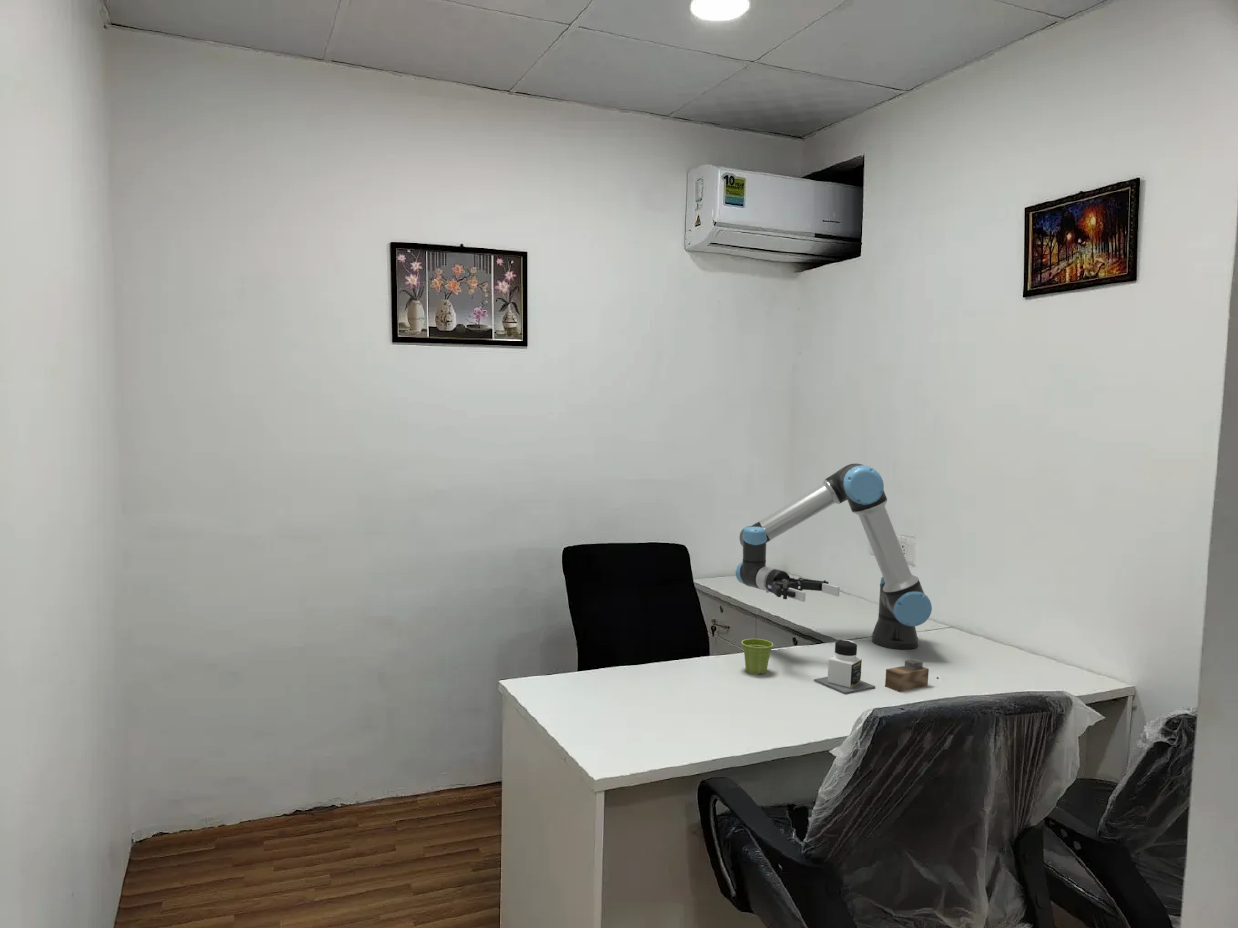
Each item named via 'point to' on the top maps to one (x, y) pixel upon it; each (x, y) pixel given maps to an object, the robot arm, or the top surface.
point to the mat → (845, 690)
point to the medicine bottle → (845, 665)
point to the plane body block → (907, 676)
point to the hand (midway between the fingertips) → (821, 594)
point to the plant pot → (756, 655)
